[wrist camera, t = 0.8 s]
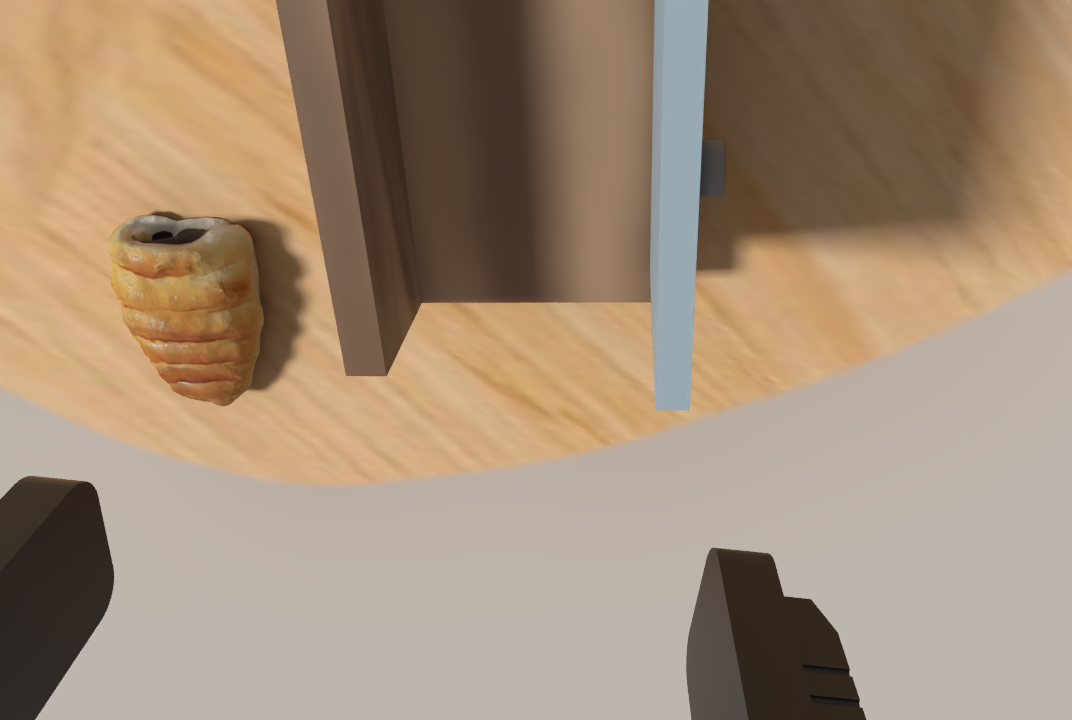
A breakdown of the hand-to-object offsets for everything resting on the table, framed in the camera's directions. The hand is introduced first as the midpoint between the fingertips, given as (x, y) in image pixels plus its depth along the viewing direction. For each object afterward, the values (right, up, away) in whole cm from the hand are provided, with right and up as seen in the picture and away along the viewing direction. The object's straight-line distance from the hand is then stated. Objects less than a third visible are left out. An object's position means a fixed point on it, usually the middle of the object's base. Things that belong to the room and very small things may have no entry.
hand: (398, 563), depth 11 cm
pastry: (-14, +6, +30) cm, 33 cm away
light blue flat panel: (+7, +12, +19) cm, 24 cm away
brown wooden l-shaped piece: (+1, +13, +23) cm, 27 cm away
